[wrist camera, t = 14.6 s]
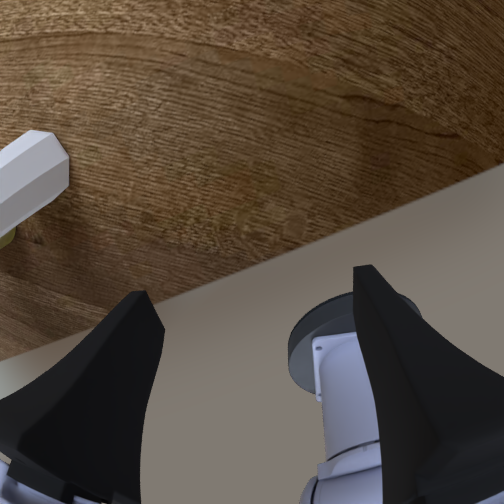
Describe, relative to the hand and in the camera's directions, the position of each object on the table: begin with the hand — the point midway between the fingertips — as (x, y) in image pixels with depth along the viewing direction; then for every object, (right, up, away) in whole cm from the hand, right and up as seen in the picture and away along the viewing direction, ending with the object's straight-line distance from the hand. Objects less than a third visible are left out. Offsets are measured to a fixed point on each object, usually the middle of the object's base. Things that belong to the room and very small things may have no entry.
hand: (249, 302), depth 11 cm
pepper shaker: (-14, +8, +7) cm, 18 cm away
